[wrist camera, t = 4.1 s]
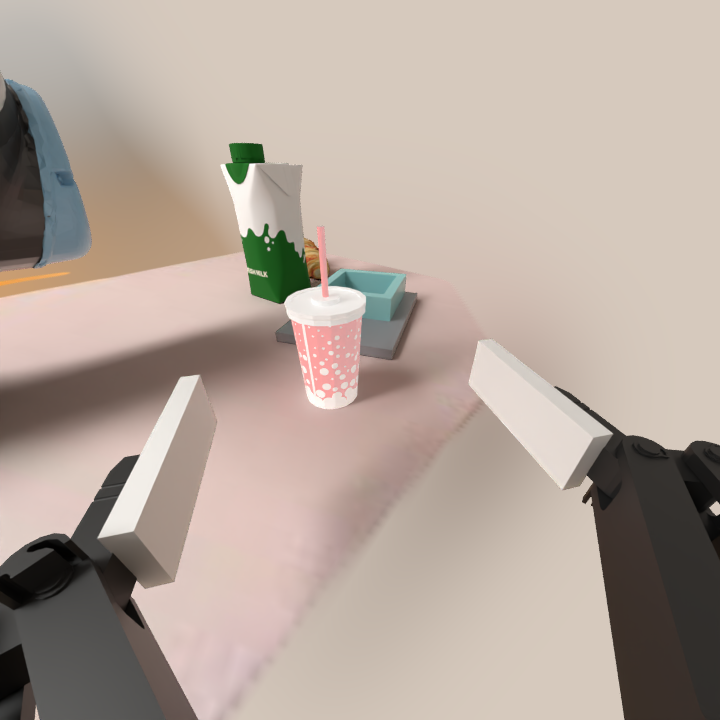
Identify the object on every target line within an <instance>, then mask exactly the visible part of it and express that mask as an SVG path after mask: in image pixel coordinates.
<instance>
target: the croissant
mask: <svg viewBox="0 0 720 720" xmlns="http://www.w3.org/2000/svg"><path fill="white" fill-rule="evenodd" d="M304 246H305V255H306V263H307V268H308V274H309V277H311V276H312V277H313V278H315V279H321V271H320V258H319V248H317V247H316V246H315V244H314V242H312V241H311V240H308V239H306V238H304ZM326 261H327V258H326ZM328 275H329V266H328V261H327V276H328Z"/></svg>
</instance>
